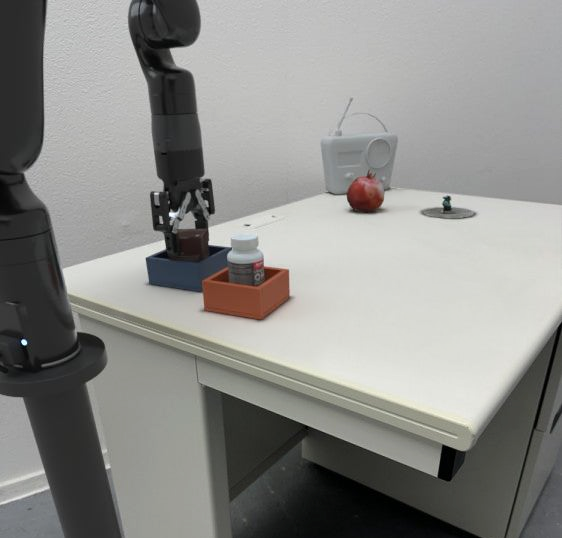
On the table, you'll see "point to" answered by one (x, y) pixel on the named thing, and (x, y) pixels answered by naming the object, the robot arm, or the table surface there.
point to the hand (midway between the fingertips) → (189, 248)
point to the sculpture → (448, 210)
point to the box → (192, 245)
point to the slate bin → (185, 269)
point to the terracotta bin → (246, 294)
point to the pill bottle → (245, 260)
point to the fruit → (365, 193)
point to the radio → (357, 156)
